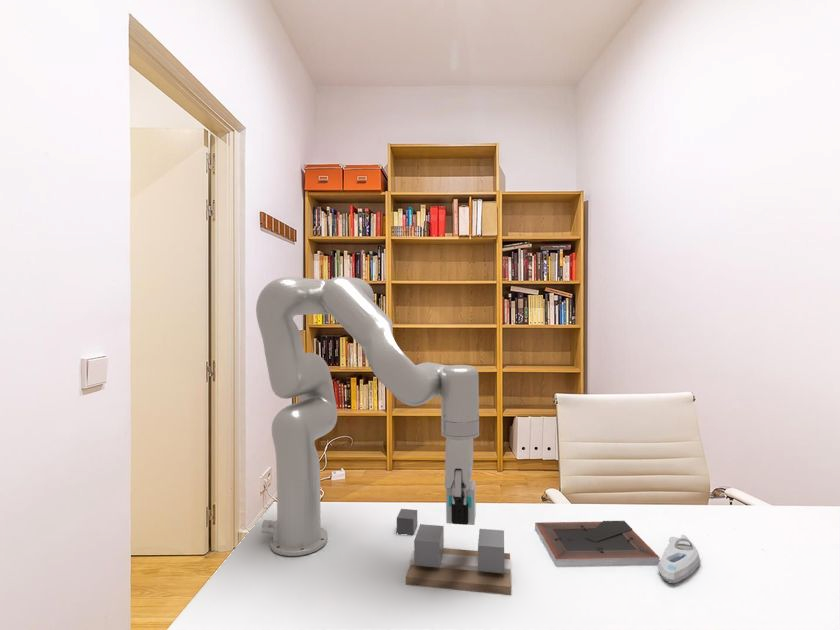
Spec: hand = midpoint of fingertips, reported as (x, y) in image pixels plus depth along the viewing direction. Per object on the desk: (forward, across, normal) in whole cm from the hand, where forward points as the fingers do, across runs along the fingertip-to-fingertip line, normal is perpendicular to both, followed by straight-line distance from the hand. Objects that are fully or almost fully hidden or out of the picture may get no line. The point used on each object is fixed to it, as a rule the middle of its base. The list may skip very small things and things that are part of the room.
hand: (461, 516), depth 97 cm
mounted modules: (+9, 0, 0) cm, 9 cm away
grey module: (+1, 0, 0) cm, 1 cm away
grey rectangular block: (+11, -16, -14) cm, 24 cm away
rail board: (+11, 0, 0) cm, 11 cm away
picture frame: (+13, -15, +28) cm, 34 cm away
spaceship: (+12, -12, +44) cm, 47 cm away
